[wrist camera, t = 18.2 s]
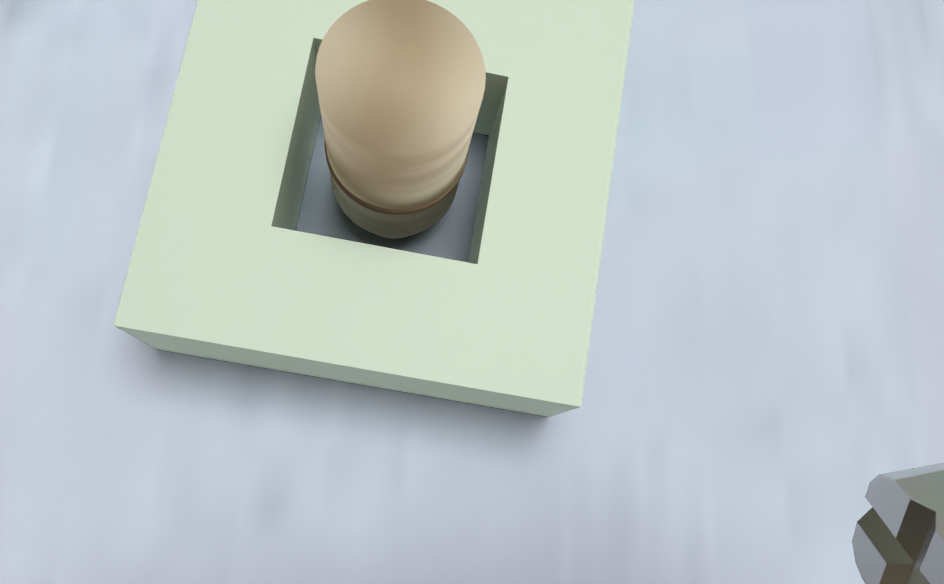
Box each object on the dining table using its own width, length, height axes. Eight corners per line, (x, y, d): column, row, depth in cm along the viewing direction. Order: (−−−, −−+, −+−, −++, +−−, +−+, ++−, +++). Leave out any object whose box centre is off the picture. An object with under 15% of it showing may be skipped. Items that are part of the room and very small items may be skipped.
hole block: (597, 65, 34) (635, -3, 29) (548, 416, 31) (580, 406, 26) (244, -7, 33) (221, -90, 28) (156, 349, 30) (113, 325, 25)
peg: (462, 150, 32) (499, 13, 23) (443, 263, 31) (473, 169, 22) (345, 127, 32) (331, -22, 22) (322, 241, 31) (297, 136, 21)
